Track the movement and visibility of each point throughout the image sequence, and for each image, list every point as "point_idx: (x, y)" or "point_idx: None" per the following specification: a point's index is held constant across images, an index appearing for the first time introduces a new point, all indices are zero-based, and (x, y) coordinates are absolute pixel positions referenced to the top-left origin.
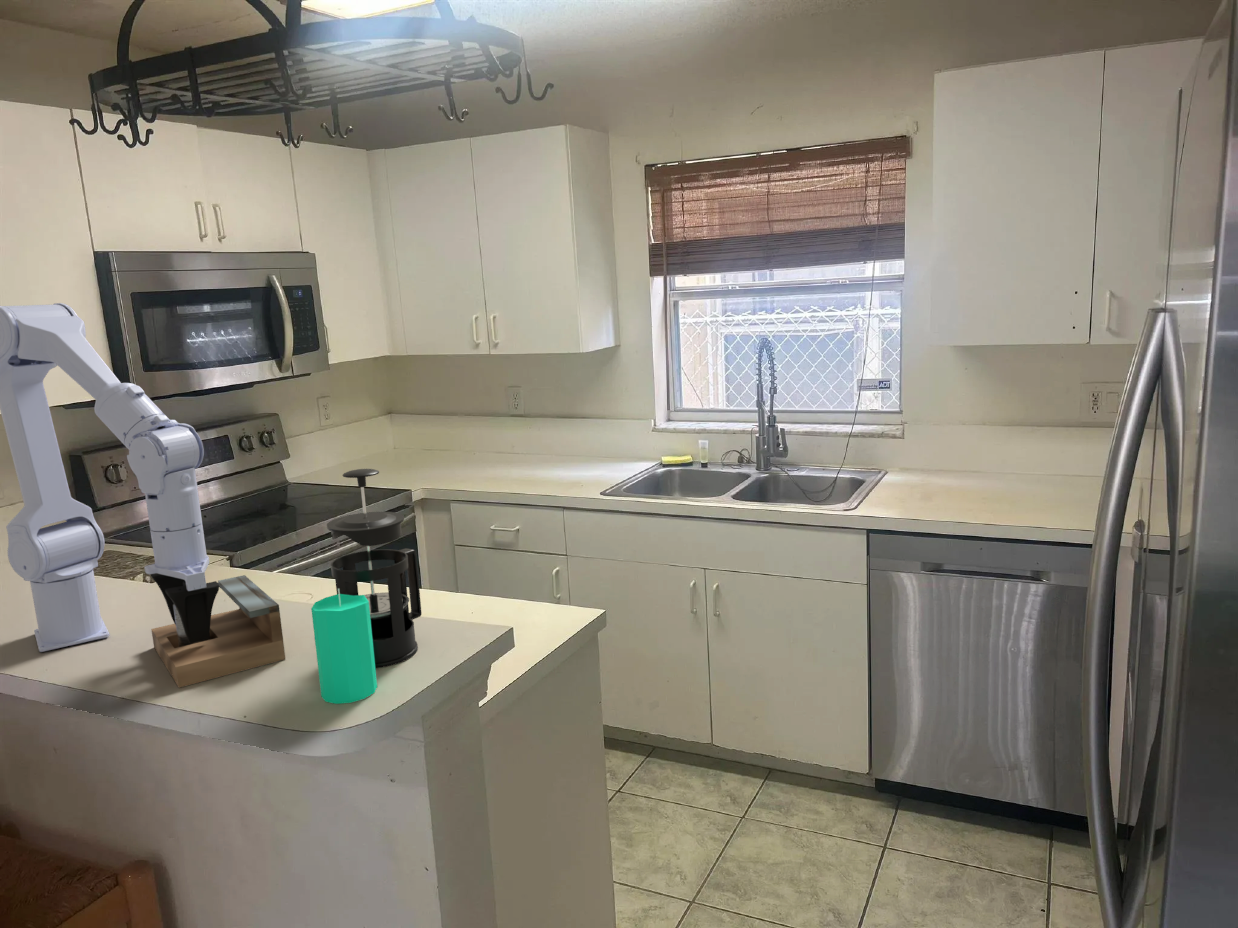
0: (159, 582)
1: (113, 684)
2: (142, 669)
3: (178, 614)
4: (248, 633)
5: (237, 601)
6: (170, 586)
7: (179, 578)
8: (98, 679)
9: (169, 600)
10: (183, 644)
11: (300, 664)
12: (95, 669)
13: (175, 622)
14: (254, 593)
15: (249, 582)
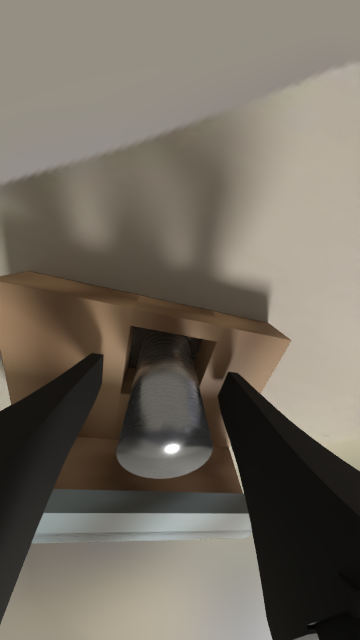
0: (340, 512)
1: (156, 188)
2: (186, 267)
3: (148, 401)
4: (99, 424)
5: (77, 504)
6: (293, 490)
7: (292, 547)
8: (216, 179)
9: (265, 426)
10: (153, 346)
11: None
12: (277, 203)
13: (232, 377)
14: (93, 532)
15: (187, 536)
